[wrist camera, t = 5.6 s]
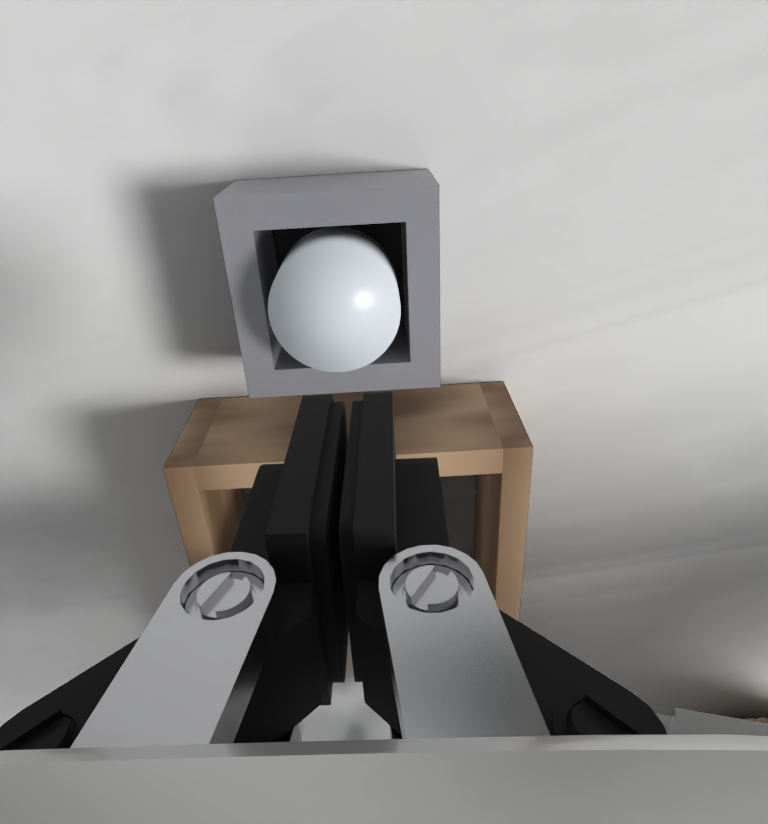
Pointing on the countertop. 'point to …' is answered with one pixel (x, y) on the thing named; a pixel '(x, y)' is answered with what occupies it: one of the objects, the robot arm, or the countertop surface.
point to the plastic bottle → (345, 714)
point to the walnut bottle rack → (414, 436)
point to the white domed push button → (335, 300)
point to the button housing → (320, 207)
